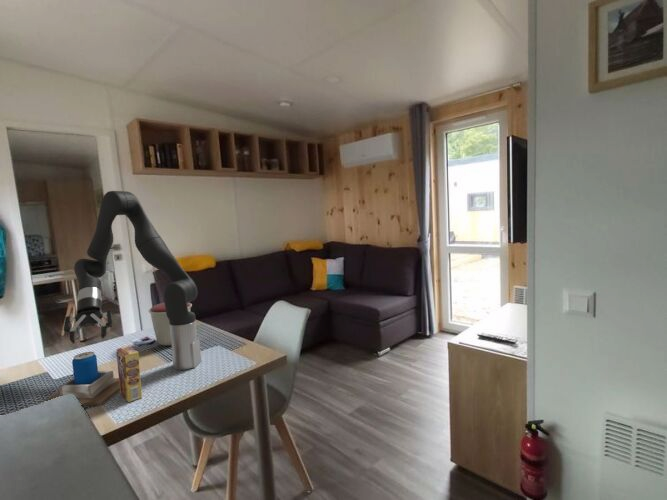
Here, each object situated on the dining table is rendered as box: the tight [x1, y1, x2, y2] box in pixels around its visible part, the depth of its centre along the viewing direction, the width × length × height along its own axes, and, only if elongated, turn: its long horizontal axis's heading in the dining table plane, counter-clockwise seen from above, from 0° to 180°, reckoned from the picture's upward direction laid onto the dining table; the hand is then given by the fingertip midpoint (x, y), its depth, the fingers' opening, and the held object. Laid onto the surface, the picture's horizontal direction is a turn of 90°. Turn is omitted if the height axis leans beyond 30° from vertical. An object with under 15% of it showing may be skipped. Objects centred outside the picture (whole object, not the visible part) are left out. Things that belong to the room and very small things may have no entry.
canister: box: [148, 302, 193, 347], centre depth 157 cm, size 18×18×21 cm
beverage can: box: [71, 351, 99, 385], centre depth 112 cm, size 6×6×12 cm
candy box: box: [116, 345, 143, 403], centre depth 109 cm, size 9×4×15 cm, turn 47°
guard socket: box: [39, 370, 120, 407], centre depth 112 cm, size 20×16×5 cm
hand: (88, 340), depth 120 cm, fingers open, 8 cm apart
